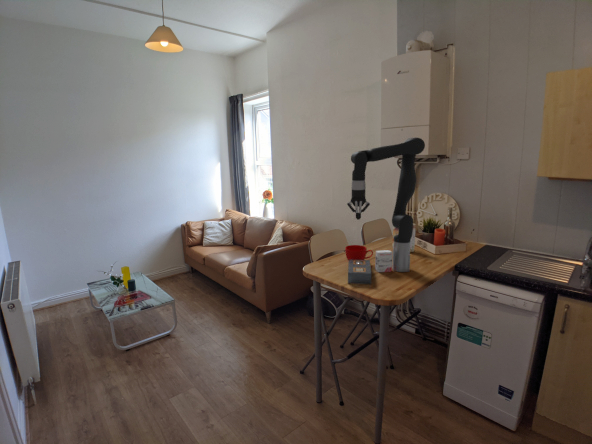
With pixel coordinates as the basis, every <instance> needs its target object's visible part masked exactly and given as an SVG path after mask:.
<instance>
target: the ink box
mask: <svg viewBox="0 0 592 444" xmlns="http://www.w3.org/2000/svg"><path fill="white" fill-rule="evenodd" d="M392 265H393V251H391V250H389V249H388V250H387V249H386V250H384V249H383V250H375V267H374V269H375V271H376V272H377V273H387V272H388V273H389V272H390V273H391V272H393V269H392Z"/></svg>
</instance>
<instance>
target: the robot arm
mask: <svg viewBox="0 0 592 444" xmlns="http://www.w3.org/2000/svg"><path fill="white" fill-rule="evenodd" d="M425 143H426V142H425V141H424V140H423V139H422V138H420V137H409V138H407V139H406V140H405V141H404V142H402V143H398V144H392V145H391V144H389V145H383V146H379V147H373V148H370V149H366V150H365V149H364V150H359V151H358V150H357V151H354V152H353V153H352V154H351V156H350V162H352V163H353V164H354V165H353V170H352V173H351V174H352V175H351V179H352V181H351V198H350V201H348V202H347V204H346V205H347V206H348V207H349V209H350V210H351V211H352V213H355V219H356V220H361V217H362V213H364V212H365V211H366V210H367V209H368V207H369V206H370V204H371V203H370V202H369V201H367V197H366V189H367V188H366V170H367V165H368V164H367V163H369V162H371V163H372V162H373V163H374V162H378V161H383V160H387V159H390V158H391V159H392V158H395V157H398V156H401V167H400V172H399V179H398V185H397V194H396V200H395V205H394V208H393V212H392V213H393V214H392V217H391V223H392V227H393V226H394V227H395V228H398V229H399V233H398V235H395V236H394V243H393V247H392V248H393V249H392V252H393V255H392V271H394V272H398V273H399V272H400V273H405V272H406V273H407V272H410V270H411V269H410V268H411V267H410V266H411V255H410V254H411V252H410V240H411V237H412V233H413V224H414V219H413V216H412V215H410V214H408V213H406V210H407V205H408V204H409V201H411V199H412V198H413V196H414V193H415V191H416V185H417V174H416V168H415V161H416V157H417V155H419V154H421V153H422V152H423V151H424V150H425V148H426V144H425ZM353 206H354V207H355V208H354V207H353ZM362 207H363V208H362Z"/></svg>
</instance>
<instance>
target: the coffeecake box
mask: <svg viewBox="0 0 592 444" xmlns="http://www.w3.org/2000/svg"><path fill="white" fill-rule="evenodd" d="M398 233H399V229H398V228H395V227H394V226H393V225H392V245H391V246H392V248H393V243H394V236H395V235H398ZM415 240H416V223H413V233H412V237H411V240H410V253H412V252H414V251H415V243H416V241H415Z"/></svg>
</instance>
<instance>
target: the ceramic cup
mask: <svg viewBox="0 0 592 444" xmlns="http://www.w3.org/2000/svg"><path fill="white" fill-rule="evenodd" d="M369 252H371V254H370V255H369V256H367V253H369ZM344 253H345V257H346V259H347V261H348V262H349V259H352V260H368V259H370V258H371V257H372V256H373V255H374V252H373V250H371V249H367V247H366V246H364V245H360V244H351V245H347V246H345V252H344ZM366 256H367V257H366Z"/></svg>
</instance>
